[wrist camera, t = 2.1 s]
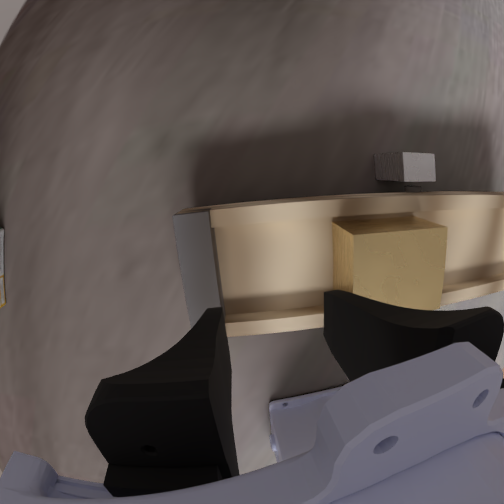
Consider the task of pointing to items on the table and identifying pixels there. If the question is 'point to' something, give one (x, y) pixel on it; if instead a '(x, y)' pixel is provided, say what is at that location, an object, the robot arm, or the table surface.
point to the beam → (320, 252)
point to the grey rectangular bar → (405, 167)
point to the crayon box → (2, 270)
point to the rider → (391, 260)
